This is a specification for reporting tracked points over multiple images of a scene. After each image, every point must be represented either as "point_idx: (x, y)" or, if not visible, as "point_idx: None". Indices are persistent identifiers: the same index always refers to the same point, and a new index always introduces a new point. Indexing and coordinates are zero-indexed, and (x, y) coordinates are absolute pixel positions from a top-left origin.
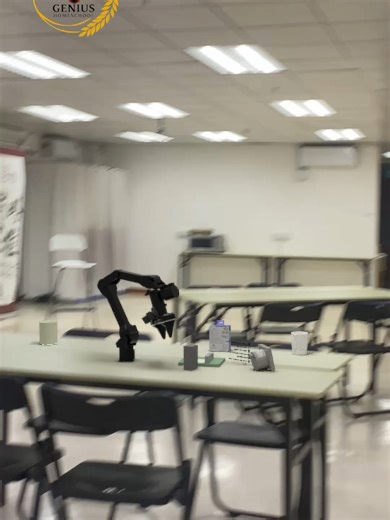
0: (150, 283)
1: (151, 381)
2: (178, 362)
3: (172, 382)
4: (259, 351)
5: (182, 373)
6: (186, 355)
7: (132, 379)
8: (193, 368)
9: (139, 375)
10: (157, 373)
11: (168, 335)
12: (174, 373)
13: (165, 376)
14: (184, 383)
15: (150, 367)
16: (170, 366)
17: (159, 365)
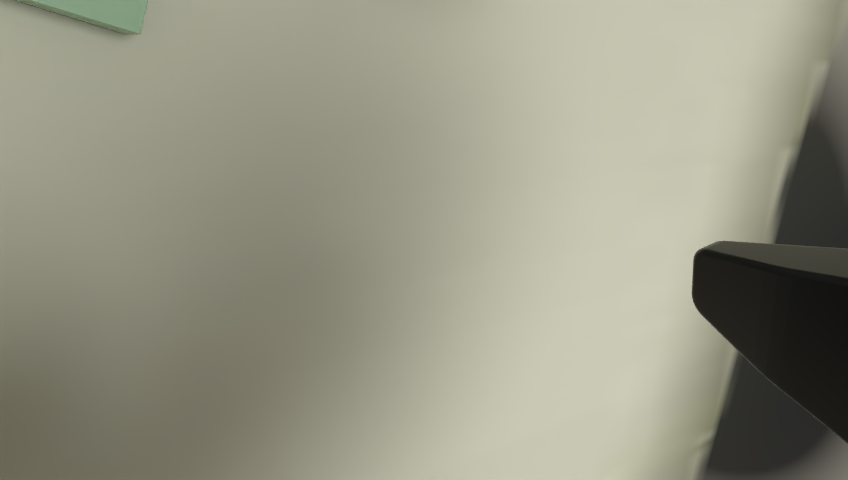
0: None
1: None
2: (138, 29)
3: (804, 118)
4: None
5: (586, 5)
6: None
7: (691, 459)
8: None
9: (598, 449)
10: (555, 294)
11: (760, 353)
12: (575, 102)
13: (658, 194)
14: (840, 17)
15: (272, 454)
16: (213, 171)
17: (136, 359)
